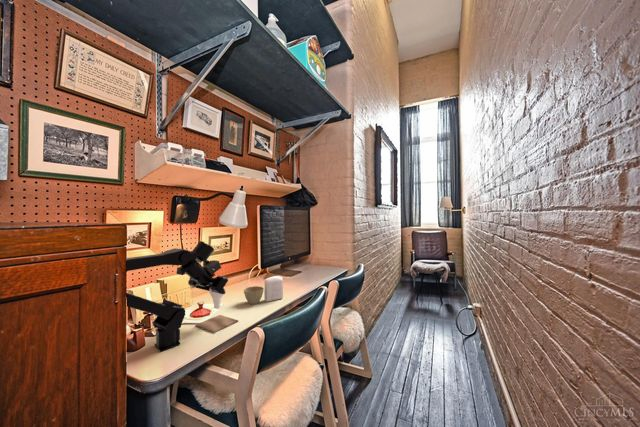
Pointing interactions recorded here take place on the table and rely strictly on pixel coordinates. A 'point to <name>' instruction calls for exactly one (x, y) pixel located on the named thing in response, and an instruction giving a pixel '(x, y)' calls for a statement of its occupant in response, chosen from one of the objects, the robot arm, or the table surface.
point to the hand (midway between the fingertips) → (219, 292)
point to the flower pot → (253, 294)
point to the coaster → (216, 323)
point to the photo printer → (273, 288)
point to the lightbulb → (216, 298)
